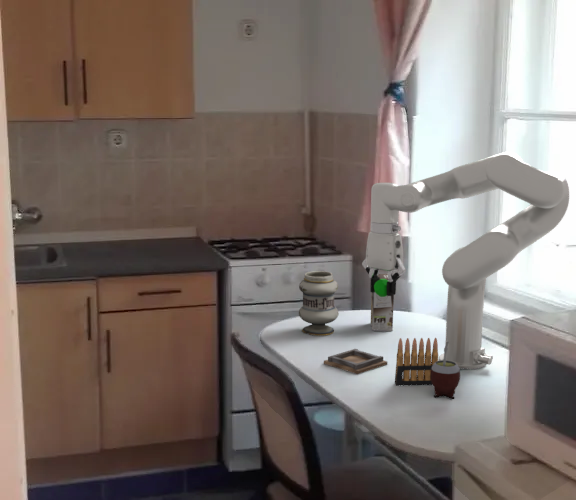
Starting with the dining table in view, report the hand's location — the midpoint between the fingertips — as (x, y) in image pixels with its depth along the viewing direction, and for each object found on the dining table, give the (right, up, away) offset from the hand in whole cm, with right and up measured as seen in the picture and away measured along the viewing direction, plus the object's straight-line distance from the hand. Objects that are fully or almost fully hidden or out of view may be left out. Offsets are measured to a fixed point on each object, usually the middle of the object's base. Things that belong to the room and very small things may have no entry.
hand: (382, 292), depth 236 cm
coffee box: (+3, -12, +30) cm, 32 cm away
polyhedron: (0, -1, 0) cm, 1 cm away
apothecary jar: (-17, -13, +24) cm, 32 cm away
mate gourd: (+11, -23, -31) cm, 40 cm away
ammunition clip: (+6, -22, -23) cm, 32 cm away
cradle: (-8, -19, -7) cm, 22 cm away
